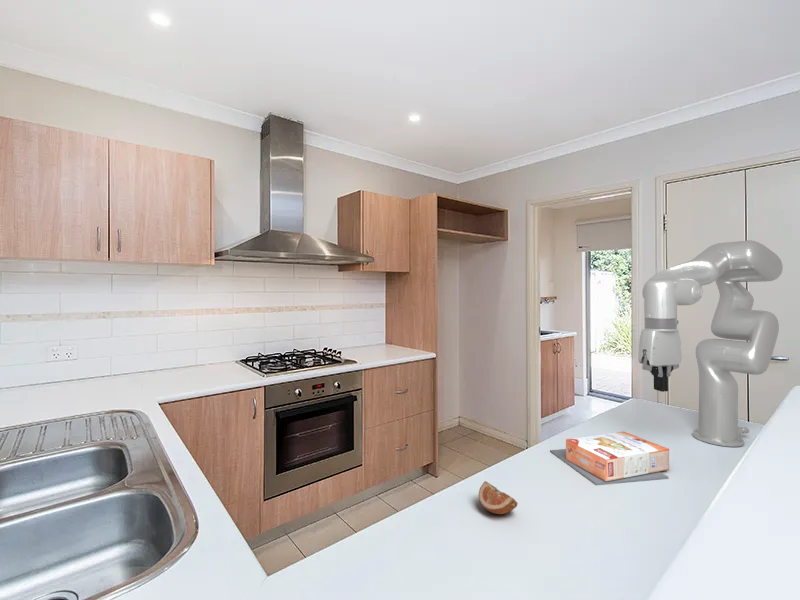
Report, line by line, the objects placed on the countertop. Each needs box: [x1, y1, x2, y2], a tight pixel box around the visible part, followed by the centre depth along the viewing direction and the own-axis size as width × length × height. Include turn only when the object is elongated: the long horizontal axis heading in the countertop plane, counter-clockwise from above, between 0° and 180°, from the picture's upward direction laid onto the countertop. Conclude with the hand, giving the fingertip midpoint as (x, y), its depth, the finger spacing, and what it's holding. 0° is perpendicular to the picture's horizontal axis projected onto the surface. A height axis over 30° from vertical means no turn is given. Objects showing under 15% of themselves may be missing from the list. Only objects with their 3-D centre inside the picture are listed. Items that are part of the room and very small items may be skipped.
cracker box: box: [565, 431, 670, 481], centre depth 104 cm, size 14×6×21 cm
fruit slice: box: [478, 480, 519, 515], centre depth 82 cm, size 8×7×5 cm
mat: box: [549, 448, 669, 486], centre depth 106 cm, size 20×20×1 cm
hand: (660, 390), depth 109 cm, fingers closed
